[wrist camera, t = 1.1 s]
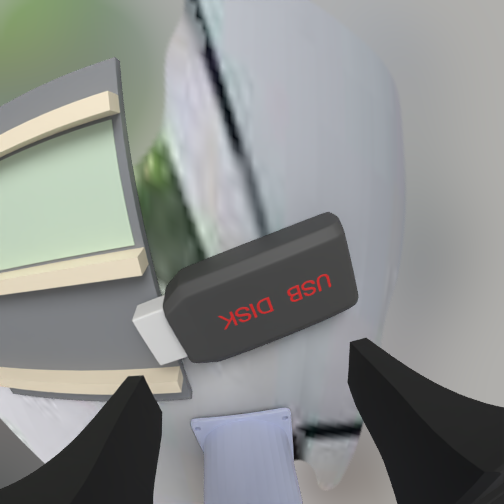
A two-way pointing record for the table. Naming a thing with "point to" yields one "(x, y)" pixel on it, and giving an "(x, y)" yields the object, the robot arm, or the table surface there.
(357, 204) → the table surface
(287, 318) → the usb drive
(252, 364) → the table surface
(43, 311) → the gray striped board
